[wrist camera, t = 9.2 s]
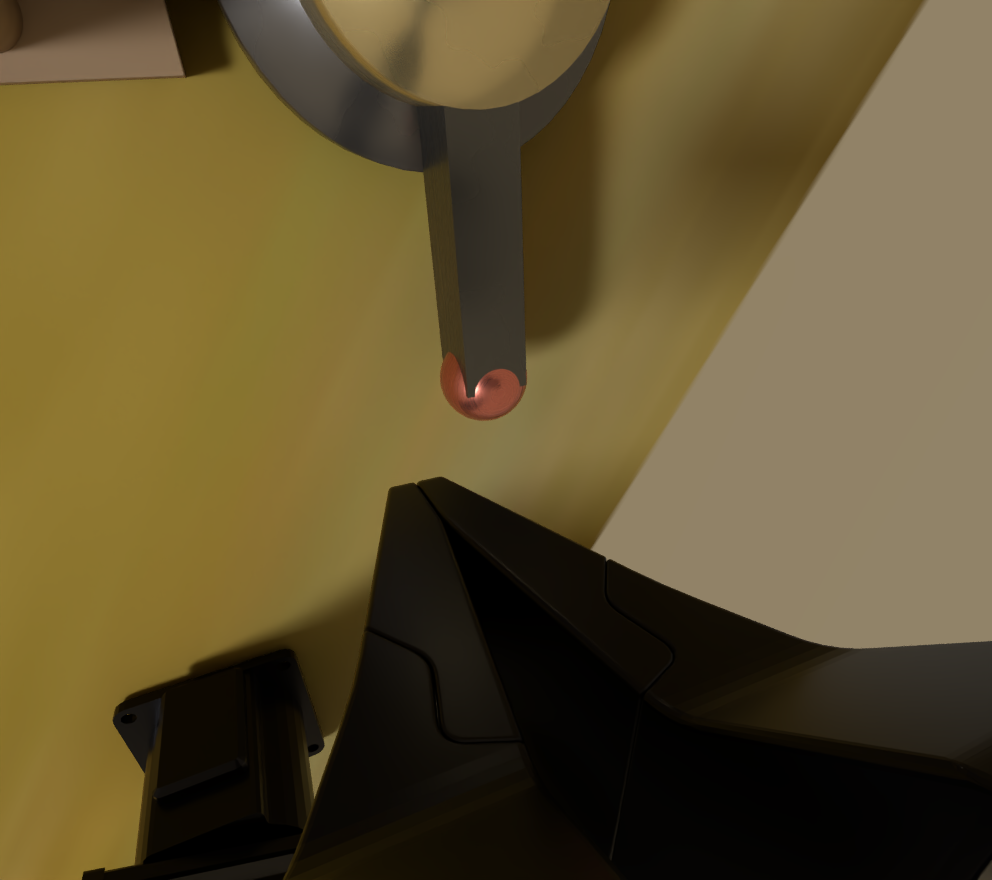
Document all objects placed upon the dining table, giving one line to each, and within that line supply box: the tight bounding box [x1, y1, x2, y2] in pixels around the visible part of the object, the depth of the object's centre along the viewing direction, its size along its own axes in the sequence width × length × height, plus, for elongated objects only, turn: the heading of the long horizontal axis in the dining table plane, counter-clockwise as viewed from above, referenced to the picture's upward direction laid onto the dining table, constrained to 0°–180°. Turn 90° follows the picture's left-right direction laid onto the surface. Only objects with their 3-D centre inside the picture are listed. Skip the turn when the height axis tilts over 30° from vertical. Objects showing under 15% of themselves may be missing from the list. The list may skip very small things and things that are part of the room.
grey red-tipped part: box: [299, 0, 610, 421], centre depth 14 cm, size 15×7×3 cm, turn 2°
